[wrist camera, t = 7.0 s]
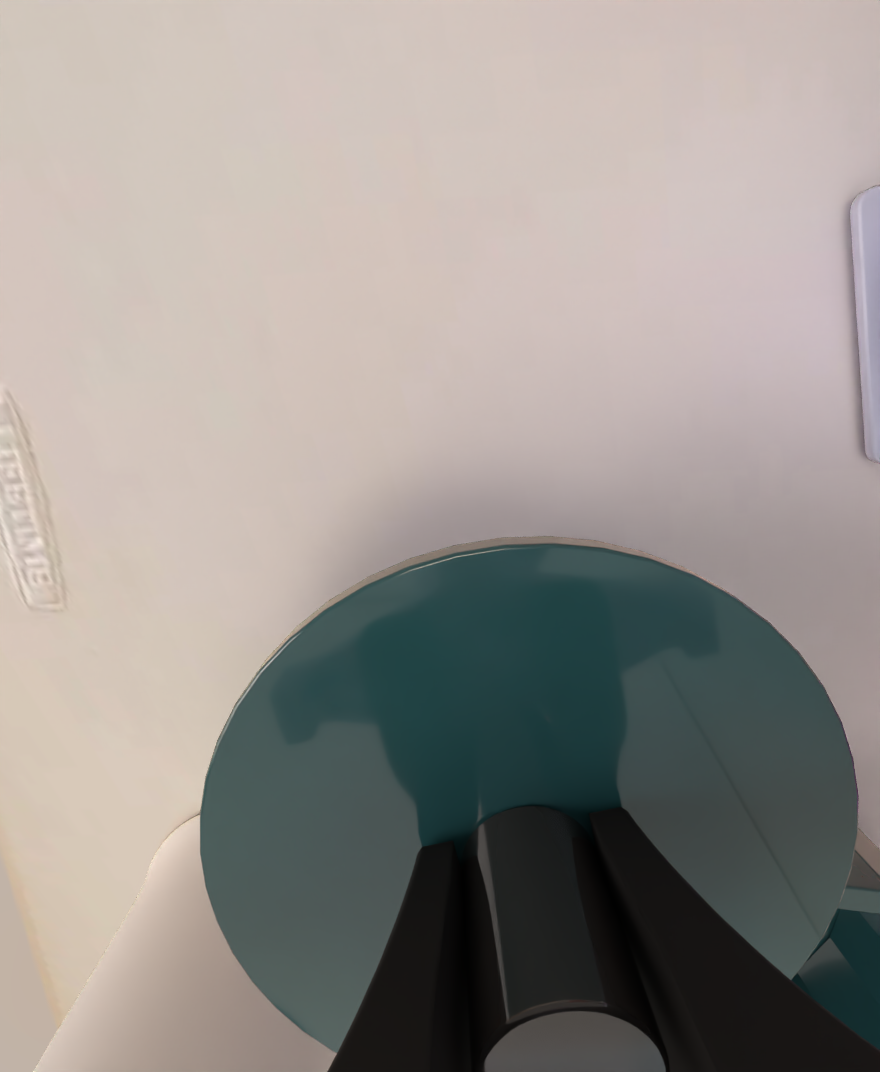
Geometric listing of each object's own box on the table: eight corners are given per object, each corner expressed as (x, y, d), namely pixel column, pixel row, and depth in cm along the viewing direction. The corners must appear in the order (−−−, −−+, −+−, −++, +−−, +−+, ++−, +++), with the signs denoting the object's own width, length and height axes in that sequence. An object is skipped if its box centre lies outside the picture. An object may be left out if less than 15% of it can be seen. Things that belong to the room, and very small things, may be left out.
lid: (793, 458, 10) (1096, 510, 5) (837, 986, 13) (1057, 1311, 8) (133, 608, 11) (-99, 770, 6) (316, 1080, 14) (254, 1431, 9)
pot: (844, 731, 20) (987, 848, 15) (863, 972, 23) (991, 1144, 18) (533, 797, 21) (565, 932, 16) (587, 1025, 24) (631, 1206, 18)
